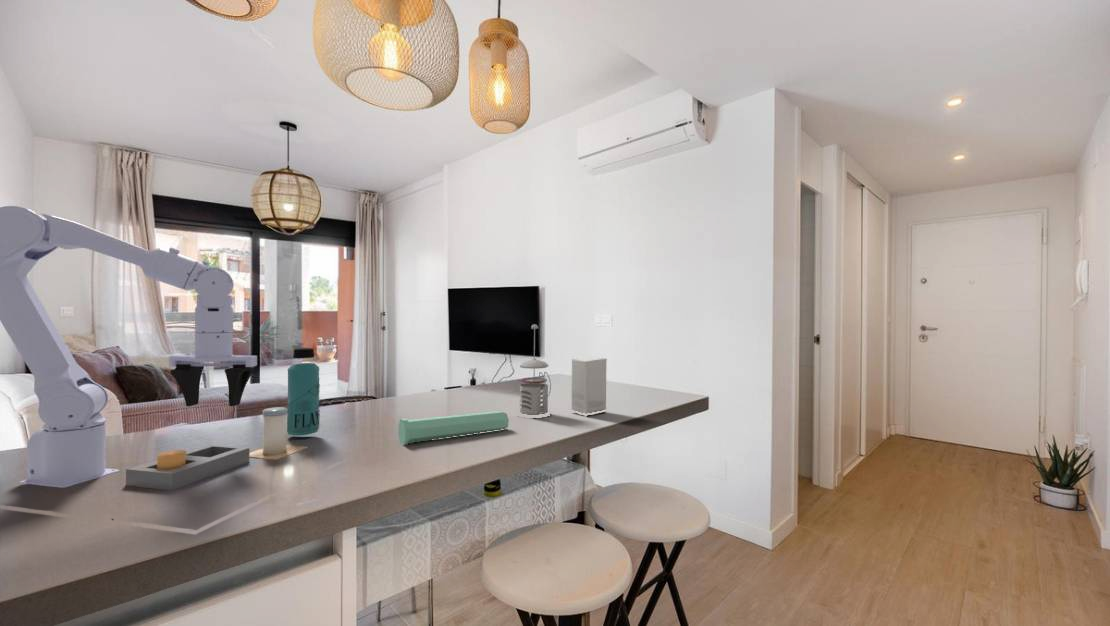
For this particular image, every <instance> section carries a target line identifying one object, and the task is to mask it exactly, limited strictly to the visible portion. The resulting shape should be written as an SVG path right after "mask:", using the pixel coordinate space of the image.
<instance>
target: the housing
mask: <svg viewBox="0 0 1110 626" xmlns="http://www.w3.org/2000/svg"><path fill="white" fill-rule="evenodd" d="M185 451H186V465H183V466H180V467H177V468H174V469H170V470H163V469H157V459H156V460H152V461H149V462H146V463H141V464H139V465H134V466H132V467H129V468H126V469H125V486H130V487H138V488H146V489H156V490H157V489H158V490H163V491H164V490H165V491H174V490H176V489H177V490H178V489H180V488H182V487H185V486H188V485H191V484H193V483H195V482H199V481H201V480H204V479H206V478H209V477H212V476H215V475H217V474H220V473H222V472H225V471H228V470H231V469H233V468H237V467H239V466H242V465H244V464H247V463H249V462H250V458H249V453H250V447H245V446H244V447H243V446H232V445H220V444H206V445H203V446H199V447H196V448H193V449H189V450H185Z"/></svg>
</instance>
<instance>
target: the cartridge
mask: <svg viewBox="0 0 1110 626" xmlns="http://www.w3.org/2000/svg"><path fill="white" fill-rule="evenodd" d="M287 413H288V408H287V407H283V406H282V407H281V406H279V407H278V406H277V407H276V406H275V407H269V408H265V409H262V448H263V454H266V455H273V454H280V453H283V452H285V451H286V447H287V445H288V444H287V443H288V442H287V437H288V433H287Z"/></svg>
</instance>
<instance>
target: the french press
mask: <svg viewBox="0 0 1110 626" xmlns="http://www.w3.org/2000/svg"><path fill="white" fill-rule="evenodd" d="M530 329H531V330H533V358H532V359H528V360H525V361H523V362H522V363H520V364H519V367H520V368H522V369H533V377H524V378H521V379H520V382H522V383H521V384H520V385H519V393H520V394H519V398H520V399H519V403H520V404H519V411H520V413H522V414H527V415H539V414H545V413H547V412H548V410H549V408H548V407H549V406H548V405H549V396H550V393H551V389H552V385H551V384H552V383H551V382H552V381H551V377H550V375H549V374H548V372H547V371H544V373H543V372H542V371H540V372H538V376H539V377H535V372H536V371H535V370H536V369H538V370H539V369H546V368H549V363H547V362H546V361H543V360H541V359H537V358H535V357H536V356H535V354H536V352H535V351H536V329H539V326H538V325H537V324H535V323H534V324H532V325H531V328H530ZM546 375H547V377H548V380H549V385H548V384H547V381H548V380H547V378H545V376H546Z"/></svg>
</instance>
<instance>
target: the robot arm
mask: <svg viewBox="0 0 1110 626" xmlns="http://www.w3.org/2000/svg"><path fill="white" fill-rule="evenodd" d="M58 248H61V249H64V250H74V249H75V250H76V249H87V250H91V251H93V252H96V253H99V254H102V255H104V256H105V255H106V256H109V257H112V258H115V259H118V260H120V261H122V262H123V261H124V262H125V263H126V262H127V263H129V264H132V265H136V266H138V267H140V268H141V270H142V273H143V274H144V276H145V277H146V278H150V279H152V280H155V281H158V282H161V283H164V284H166V285H169V286H172V287H175V288H177V289H180V290H181V289H182V290H184V291H192V290H194V291H195V292H196V293H197V294H196V307H195V308H194V354H192V355H191V354H189V355H183V354H182V355H181V354H180V355H170V356H169V361H168V363H169V367H171V368H172V367H175V368H174V369H171V370H170V374H171V376H172V378H173V379H174V380H175V381H176V383H177V384H178V386H179V389H180V391H181V393H182V395H183V399H184V401H185V402H184V403H185V407H192V406H196V405H198V404H199V401H200V383H201V379H202V378H201V377H202V373H203V371H204V367H229V368H224V373H225V376H226V380H227V385H228V386H227V387H228V405H229V407H235V406H239V405H241V401H242V397H243V394H244V391H245V389H246V386H247V384H248V381H249V380H250V378H251V376H252V374H254V372H255V367H256V366H257V365H258V355H244V354H233V345H234V344H233V343H234V342H233V341H234V340H233V339H234V337H233V336H234V308H233V307H232V304H233V298H232V295H230V294H231V293H232V292H233V290H234V284H235V283H234V280H233V278H232V276H231V275H230V274H229V273H228V272H227V271H226V270H224V269H222V268H219V267H210V264H211V263H210V261H207V260H203V261H202V262H201V261H200V260H196V259H194V258H191V257H188V256H185V255H183V254H181V253H180V252H181V251H180V250H179V249H177V248H175V247H170V248H168V249H167V248H166V247H157V248H154V249H150V250H148V249H145V248H143V247H142V246H141V247H140V246H137V245H135V244H133V243H130V242H128V241H125V240H122V239H121V238H117V237H115V236H112V235H110V234H108V233H105V232H101V231H99V230H97V229H95V228H92V227H89V226H87V225H84V224H82V223H78V222H75V221H72V220H69V219H65V218H62V217H58V216H55V215H51V214H47V213H43V212H41V215H39V214H38V213H36V212H34V211H33V210H31V209H29V208H27V207H23V206H18V205H6V206H1V207H0V323H1V324H2V326H3V328H4V330H5V331H6V333H7V334H8V336H9V337H10V339H11V340H12V342H13V345H14V347H16V349H17V351H18V352H19V354H20V355H21V358H22V359H23V361H24V363H25V364H26V366H27V368H28V369H29V371H30V373H31V375H32V376H33V379H34V386H33V387H34V388H33V390H34V391H33V392H34V394H35V395H36V397H37V399H38V410H37V413H38V416H39V418H40V420H41V421H42V422H43V423H44V424H43V425H42V427H41V428H39V429H37V430H36V431H34V433H32V435H31V436H30V437H29V439H28V442H27V448H26V449H27V450H26V451H27V452H26V479H23V480H21V481H19V485H22V486H24V485H35V486H43V487H44V486H45V487H51V488H62V489H63V488H67V487H72V486H74V485H77V484H81V483H85V482H88V481H92V480H94V479H98V478H101V477H105V476H108V475H111V474H114V473H118V472H120V469H118V468H117V469H116V468H115V469H114V468H106V450H107V449H106V448H107V447H106V446H107V445H106V436H107V434H106V433H107V431H106V430H107V425H106V424H107V423H106V422H107V419H106V418H105V417H104V416H103V415H102V414H101V412H102V411H103V410H104V409H105V408H106V407H107V404H108V402H109V394H108V391H107V390H106V388H105V387H103V385H101V384H99V383H97V382H95V381H94V380H93V379H92V378H91V376H90V375H89V373H88V372H87V371H86V370H85V369H84V368H83V367H82V366H80V365H79V364H78V363H77V361H76V359H75V357H74V356H73V355H72V352H71V351H70V348H69V347H68V346H67V344H66V342H65V340H64V339H63V337H62V335H61V333H60V332H59V330H58V329H57V327H56V325H55V323H54V321H53V319H52V318H51V316H50V314H49V313H48V311H47V309H46V308H45V306H44V305H43V303H42V301H41V299H40V297H39V296H38V294H37V291H36V290H35V288H34V287H33V285H32V284H31V282H30V280H29V279H28V274H29V273H30V271H32V269H33V268H34V267H35V265H36V264H37V263H38V261H39V260H41V259H42V258H44V257H46V256H48V255H49V254H51V253H53V252H54V251H56V250H57V249H58ZM219 362H220V363H219Z"/></svg>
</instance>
